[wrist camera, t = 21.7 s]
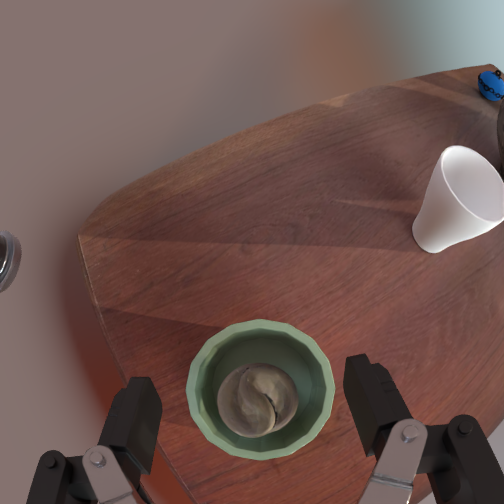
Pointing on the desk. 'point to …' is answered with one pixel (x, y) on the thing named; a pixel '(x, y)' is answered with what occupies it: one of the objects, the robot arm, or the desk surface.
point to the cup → (459, 200)
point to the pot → (271, 352)
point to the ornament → (491, 85)
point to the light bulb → (257, 399)
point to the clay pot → (501, 137)
